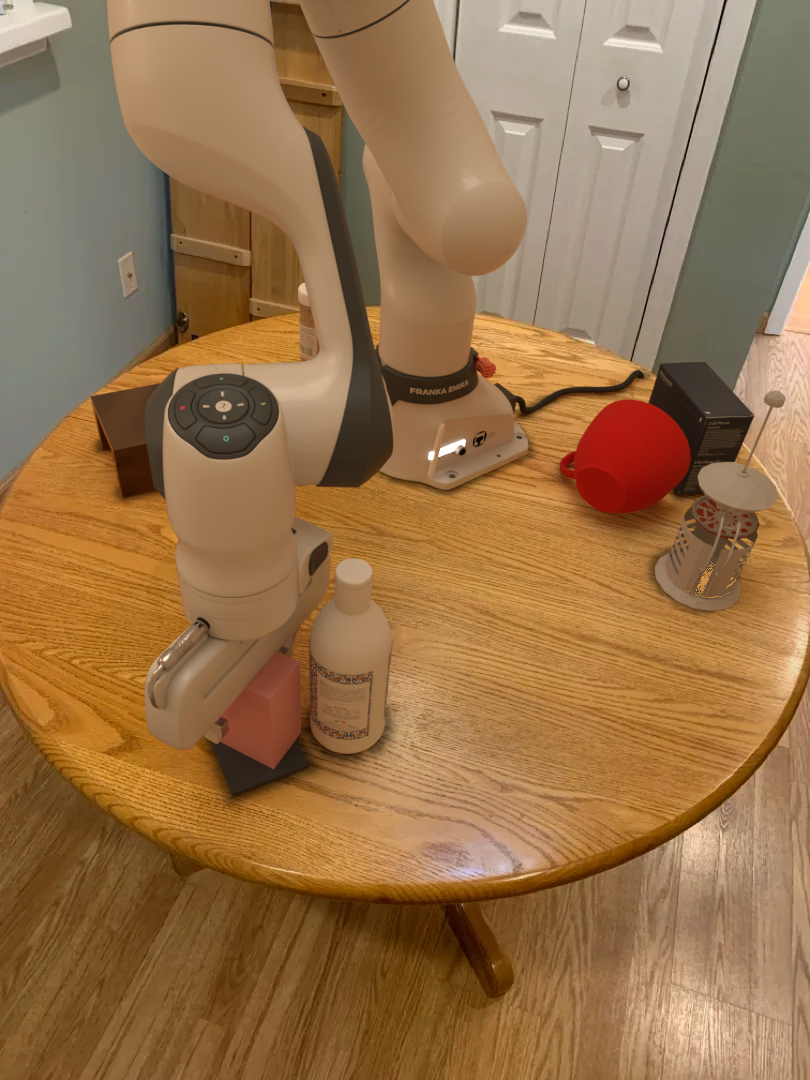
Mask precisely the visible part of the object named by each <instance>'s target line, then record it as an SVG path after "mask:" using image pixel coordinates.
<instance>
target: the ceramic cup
mask: <svg viewBox="0 0 810 1080" xmlns="http://www.w3.org/2000/svg"><path fill="white" fill-rule="evenodd" d="M690 460H691V456H690V448H689V444H688V441H687V439H686V437H685V435H684V433H683V431H682V430H681V428H680V427H679V426H678V424H677V423H676V422H675V421H674V420H673V419H672V418H671V417H670V416H669V415H668V414H666V413H665V412H664V411H662V410H661V409H659V408H657V407H656V406H654V405H652V404H649V402H646V401H643V400H638V399H632V398H628V399H627V398H626V399H619V400H615V401H613V402H611V403H609V404H607V405H605V406H604V407H603V408H602V409H601V410H600V411H599V412H598V413H597V414H596V416H595V417H594V418H593V419H592V420H591V421H590V423H589V425H588V426H587V427H586V429H585V431H584V432H583V434H582V436H581V437H580V439H579V441H578V443H577V445H576V450H574V451H571V452H569V453H567V454H566V455H564V456H563V457H562V458H561V459H560V461H559V470H560V473H561V474H562V475H563V476H564V477H565V478H568V479H571V480H574V481H575V487H576V490H577V492H578V494H579V496H580V497H581V498H582V500H583V501H585V503H586V504H587V505H589V506H590V507H591V508H593V509H595V510H597V511H599V512H601V513H604V514H619V515H620V514H622V515H623V514H632V513H636V512H640V511H643V510H646V509H648V508H650V507H652V506H653V505H656V504H657V503H658V502H659V501H661V500H662V499H664V498H665V497H666V496H667V495H668V494H670V493H671V492H672V491H674V490H673V489H674V488H675V487H676V486H677V484H678V483H679V482H680V481H681V480H682V479H683V478H684V476H685V475H686V473H687V471H688V469H689V466H690ZM572 464H573V469H570V468H569V466H570V465H572Z"/></svg>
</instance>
